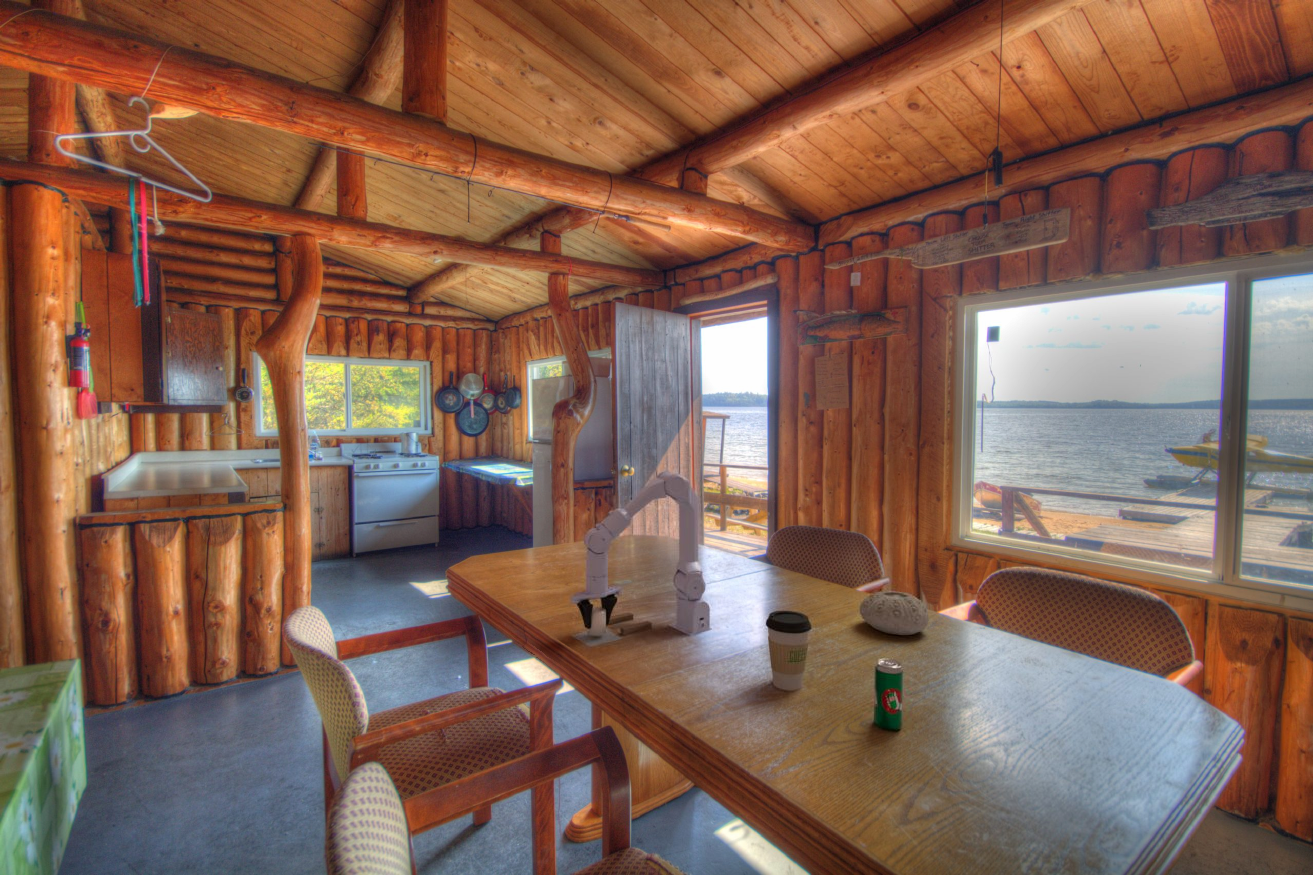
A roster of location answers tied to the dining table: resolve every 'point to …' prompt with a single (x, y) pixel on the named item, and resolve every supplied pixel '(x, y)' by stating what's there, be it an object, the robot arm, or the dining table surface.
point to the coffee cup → (788, 648)
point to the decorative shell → (894, 612)
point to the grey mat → (596, 638)
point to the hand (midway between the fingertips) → (596, 625)
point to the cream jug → (597, 622)
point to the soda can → (888, 694)
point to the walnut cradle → (627, 624)
